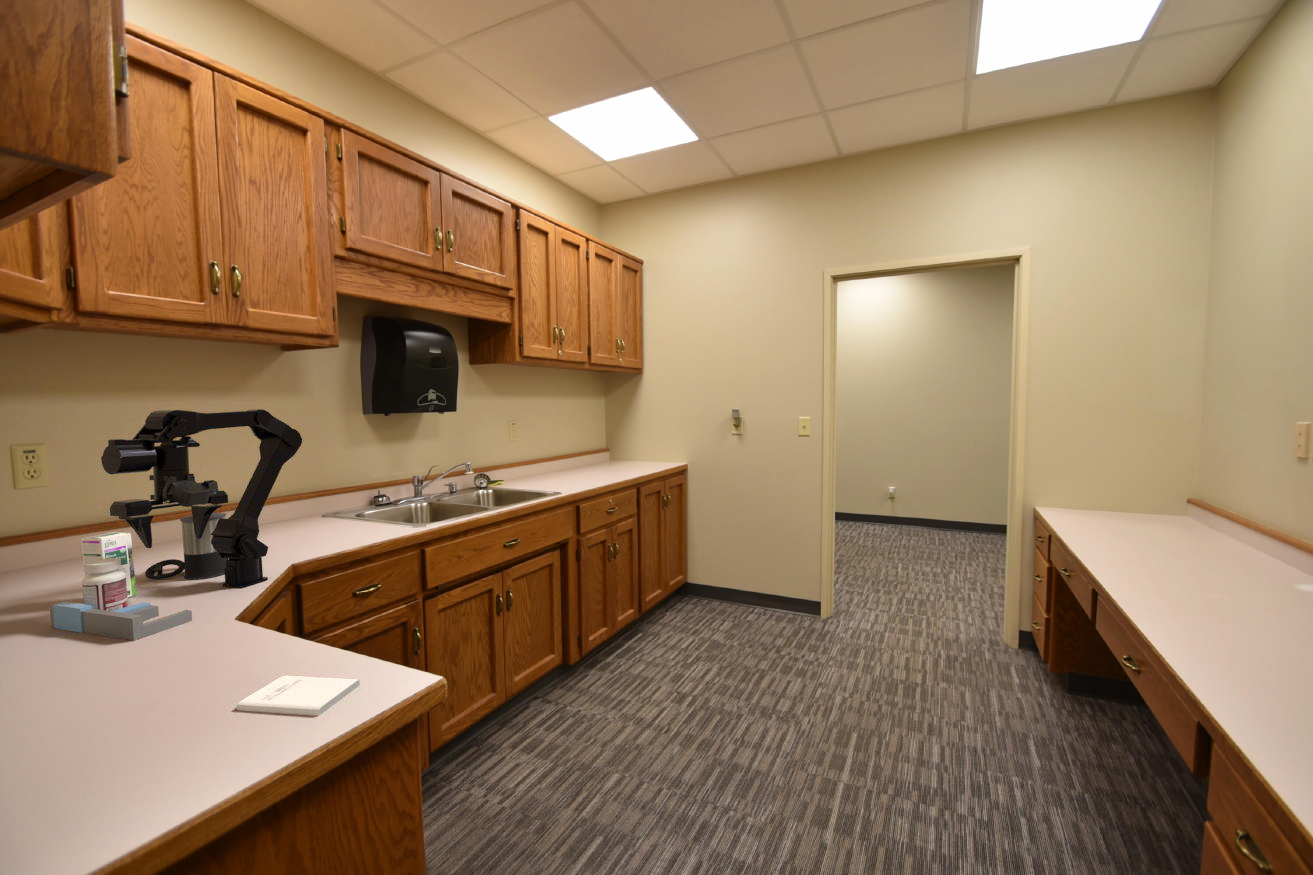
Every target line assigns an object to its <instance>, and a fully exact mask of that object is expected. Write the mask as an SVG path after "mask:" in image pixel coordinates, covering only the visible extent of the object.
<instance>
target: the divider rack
mask: <svg viewBox="0 0 1313 875" xmlns="http://www.w3.org/2000/svg"><path fill="white" fill-rule="evenodd" d="M49 612H50V613H49V614H50V624H51V628H54V629H57V630H62V631H69V632H73V633H74V632H75V633H81V634H82V633H83V634H84V633H85V634H91V635H92V634H93V635H97V636H98V635H99V636H104V637H109V638H110V637H111V638H116V639H121V640H122V639H123V640H127V639H129V641H133V640H134V641H137V640H140V639H143V638H146V637H149V636H151V635H154V634H157V633H161V632H163V631H165V630H170V629H172V628H174V627H178V626H180V625H184V624H186V623H188V622H192V621H193V614H192V610H190V609H184V610H181V611H178V612H176V613H172V614H170V615H165V616H163V617H161V618H157V619H154V620H150V619H153V618H156V617H160V615H159V614H160V612H159V605H152V604H151V603H150V602H147V601H146V602H144V601H142V602H139V603H135V604H132V605H128V607H124V608H121V609H118V610H114V611H106V610H99V609H92V605H87V604H84V603H78V602H73V601H72V602H71V601H62V602H58V603H55V604H52V605H51V606H49ZM147 620H150V621H147ZM144 621H147V622H144ZM143 622H144V623H143ZM145 636H146V637H145ZM136 639H137V640H136Z"/></svg>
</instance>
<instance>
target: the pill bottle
mask: <svg viewBox="0 0 1313 875" xmlns="http://www.w3.org/2000/svg"><path fill="white" fill-rule="evenodd" d="M120 568H121V559H120V558H107V559H100V560H95V561H91V562H87V563H85V564H84V563H83V572H84V575H85V574H89V575H88V576H86V577H85V576H84V577H83V579H82V580H81V585H82V596H83V598H82V599H83V604H87V605H92V609H99V610H106V611H114V610H118V609H121V608H124V607H128V606H129V601H128V599H129V598H127V586H126V574H125V573H124V572H123V571H121V570H118V569H120Z"/></svg>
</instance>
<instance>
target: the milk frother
mask: <svg viewBox="0 0 1313 875" xmlns="http://www.w3.org/2000/svg"><path fill="white" fill-rule="evenodd" d="M226 516H227V513H225V512H213V513H212V514H211V516H210V518H209V520H208V523H207V525H206V528H205V530H204V533H203V535H202V538H200V539H197V538H196V535H195V532H194V525H193V517H192V515H188V516H185V517H181V518H179V521H180V522H181V534H182V546H183V547H182V548H183V557H184V559H183V560H180V559H177V558H176V559H175V558H174V559H165V560H162V561H158V562H156V563H154V564H152V565H151V566H149V567H148V568H147V569H146V570H145V572H144V575H145V577H146V578H147V579H150V580H164V579H165V580H166V579H170V578H173V577H176V576H178V575H180V574H182V573H183V571H184V575H183V579H186V580H204V579H210V578H215V577H219V576H222V575H225V572H224V568H225V567H226V560H228V559H227V558H224V559H223V558H221V557H220V555H219V553H218V552H217V551H216V550H215V549H214V548H213V546H212V544H211V540H212V537H213V535H211V533H212V532H213V531H214V530H215V528H216V525H217V522H218V520H219V519H220V518H225V519H226ZM171 565H172V566H177V567H178V568H177V569H175V570H173V571H171V572H168V573H163V570H164V567H166V566H171Z"/></svg>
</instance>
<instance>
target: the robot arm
mask: <svg viewBox="0 0 1313 875" xmlns="http://www.w3.org/2000/svg"><path fill="white" fill-rule="evenodd" d="M240 427H248V428H249V429H250V431H251V432H252V433H253V435H254V437H255V438H257V439H258V440H259V441H260V443H259V447H258V449H259V457H260V458H259V461H258V463H257V465H256V467H255V469H254V471H253V473H252V476H251V477H250V479H249V482H248V483H247V485H246V488H245V490H244V492H243V494H242V496H241V498H240V499H239V502H238V504H237V507H236V508H235V511H234V512H233V513H232V514H231V515H230V516H229V517H227V518H226V517H225V518H220V519H219V520H218V522H217V525H216V528H215V530H214V531H213V532H212V533H211V535H213V537H212V540H211V544H212V546H213V548H214V549H215V550H216V551H217V552H218V553H219V555H220V557H221V558H223V559H224V558H227V559H228V560H226V567H225V568H224V572H225V574H224V581H225V582H223V583H222V585H221V586H223V587H232V588H233V587H234V588H239V589H240V588H245V587H248V586H251V585H254V584H257V583H260V582H264V581H268V579H269V578H268V577H269V576H264V572H263V557H266V556H267V554H268V551H269V546H268V545H266V544H265V543H263V542H261V541H260V540H259V538H258V537H259V534H260V525H259V518H260V515H261V512H262V511H263V509H264V507H265V504H266V502H267V500H268V498H269V496H270V494H271V491H272V490H273V487H274V485H275V483H276V481H277V479H278V476H279V474H280V472H281V470H282V468H283V466H284V464H286V463H287V462H288V461H289V460H290V459H292V458H293V457H294V456H296V454H297V452H298V451H299V449H300V448H301V447H302V443H303V438H302V436H301V433H300V432H299V431H298V430H297V429H296V428H295V429H294V428H292V427H291V426H290V425H289V424H288V423H285V422H284V421H283V420H280V419H278V418H277V417H275V416H273V415H272V414H271V413H270V412H269V411H267V410H265V409H262V408H261V409H260V408H258V409H255V408H254V409H253V408H252V409H248V410H240V411H239V410H238V411H236V410H235V411H221V412H220V411H218V412H206V413H205V412H198V411H191V410H183V409H182V410H181V409H169V410H168V409H167V410H166V409H165V410H162V409H161V410H160V409H159V410H153V411H151V412H150V413H149V415H148V416H147V417H146V419H145V424H143V426H142V427H141V428H140V429H139V431H138V432H137V433H136V434H135V436H134V437H133V438H132V439H124V438H123V439H122V438H120V439H119V438H117V439H114V438H112V439H111V438H110V439H108V440H107V442H108V443H107V444H108V445H107V446H106V447H105V448H104V450H103V452H102V455H101V457H100V459H101V465H102V468H103V469H104V471H105V472H106V473H107V474H109V475H121V474H122V475H123V474H133V473H135V474H136V473H146V472H149V471H151V470H153V472H152V473H153V474H151V475H148V476H149V481H153V489H154V490H153V492H154V494H150V495H149V496H150V497H149V498H150V500H149V499H138V498H137V499H136V498H133V499H125V500H116V501H113V503H111V505H110V507H109V516H111V517H118V519H119V520H125V522H126V523H127V524H128V525H129V526H130V527H131V528H132V529H133V531H134V532H135V533H136V534H137V535H136V536H138V538H139V539H140V541H141V542H142V544H143V545H144V547H145V548H146V549H152V548H153V535H152V534H153V533H152V525H151V522H152V520H153V519H154V517H155V516H154V515H153V514H152V515H151V514H150V512H152V511H153V510H160V509H167V508H173V507H174V508H175V507H180V506H181V507H183V508H184V507H185V508H190V509H191V516H192V517H193V525H194V532H195V535H196V538H197V539H200V538H202V535H203V533H204V530H205V528H206V525H207V523H208V520H209V518H210V516H211V514H212V513H215V511H216V510H218V509H220V508H222V506H223V504H228V503H229V495H228V494H227V492H226V491H225V490H220V489H219V485H218V481H216V480H214V479H211V480H210V479H209V480H204V481H203V482H197V481H196V477H195V474H194V473H193V472H191V473H190V458H189V457H190V454H189V448H199V447H201V444H200V443H199V442H198V441H196V440H194V439H193V438H192V437H191V436H192V435H196V434H199V433H201V432H204V431H208V430H215V429H218V430H219V429H228V428H229V429H230V428H240ZM176 438H180V439H176ZM155 444H159V445H155Z"/></svg>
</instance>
